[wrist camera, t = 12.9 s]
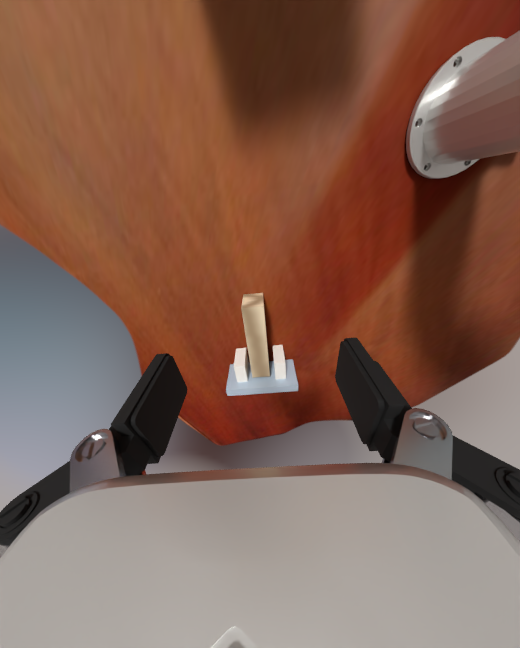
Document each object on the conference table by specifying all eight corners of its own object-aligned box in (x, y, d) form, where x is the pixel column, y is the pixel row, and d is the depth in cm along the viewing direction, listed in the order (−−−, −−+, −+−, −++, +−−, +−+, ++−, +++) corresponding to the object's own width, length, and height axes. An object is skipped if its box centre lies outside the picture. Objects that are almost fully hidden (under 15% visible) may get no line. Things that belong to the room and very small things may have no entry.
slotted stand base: (226, 349, 47) (221, 374, 40) (292, 344, 46) (298, 368, 40) (231, 369, 51) (227, 395, 44) (292, 365, 50) (298, 390, 43)
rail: (263, 292, 39) (263, 306, 34) (268, 358, 49) (270, 376, 44) (243, 294, 39) (241, 308, 34) (252, 359, 49) (252, 377, 44)
